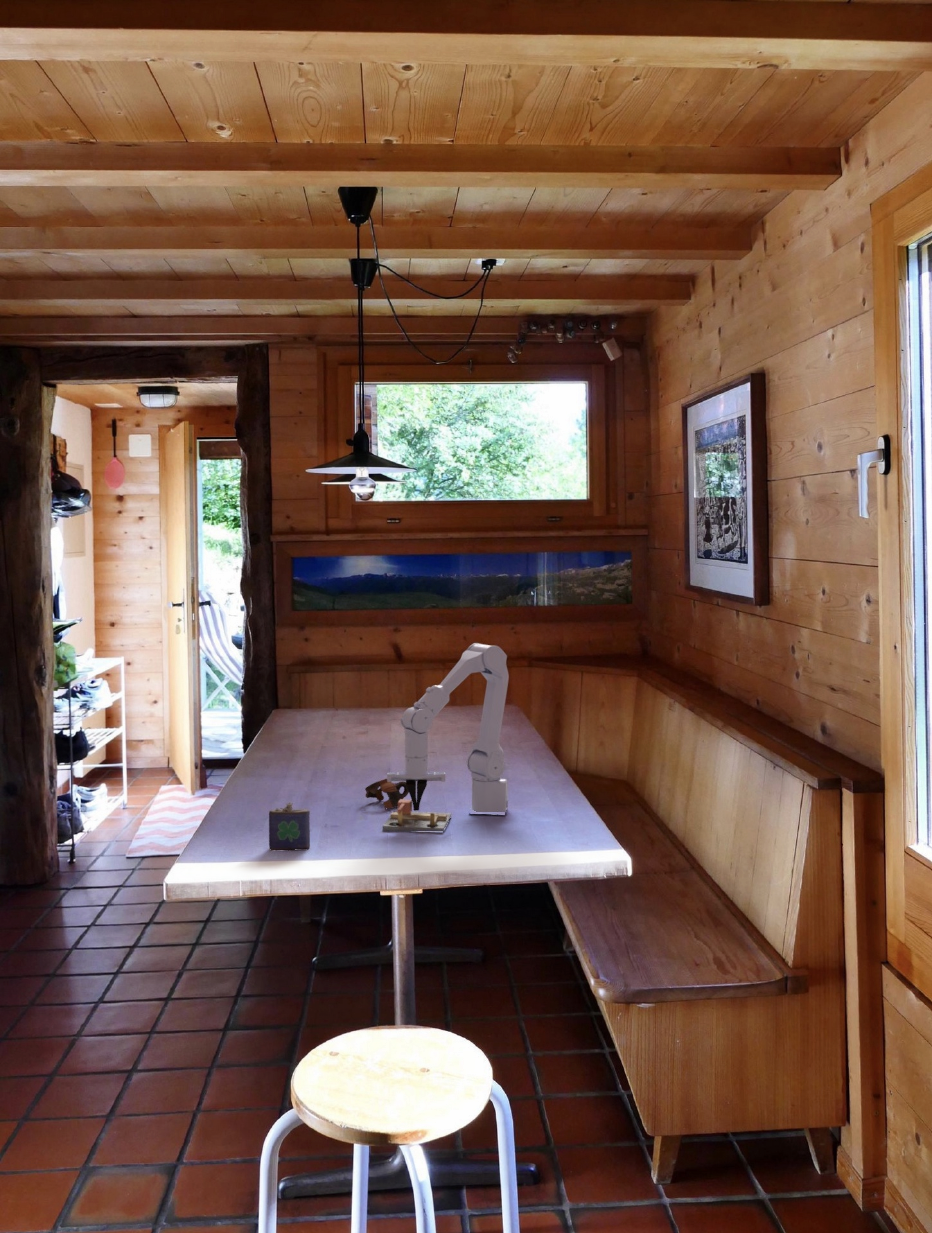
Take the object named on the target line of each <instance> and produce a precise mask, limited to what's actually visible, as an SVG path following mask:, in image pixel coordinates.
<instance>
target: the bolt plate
mask: <svg viewBox="0 0 932 1233" xmlns="http://www.w3.org/2000/svg"><path fill="white" fill-rule="evenodd" d="M393 812H394V813H397V810H394V811H393ZM411 813H421V814H430V813H435V814H447V819H446V820H438V821H437V823H436V824H435V825H434V826H431V825H430V820H424V819H402V823H398V819H397V818H391V815H390V816H389V817H388V818H387V820H386V821H385V822H384V824H382V832H399V831H444V828H445V827H446V825H447V823H448V821H449V819H450V817H451V815H452V816H453V814H452V812H435V811H434V812H431V811H430V812H429V811H412V812H411ZM447 826H448V825H447ZM446 828H447V827H446ZM444 832H445V831H444Z"/></svg>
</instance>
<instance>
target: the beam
mask: <svg viewBox="0 0 932 1233" xmlns="http://www.w3.org/2000/svg"><path fill="white" fill-rule="evenodd" d="M435 813H436V812H435ZM435 813H430V814H421V813H410V815H407V814H402V819H424V820H430V825H431V826H434V825H435V824H436V823H437V821H438V820H446V819H447V814H435ZM390 816H391V818H397V819H398V813H394V811H393V812H391V813H390Z"/></svg>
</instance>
